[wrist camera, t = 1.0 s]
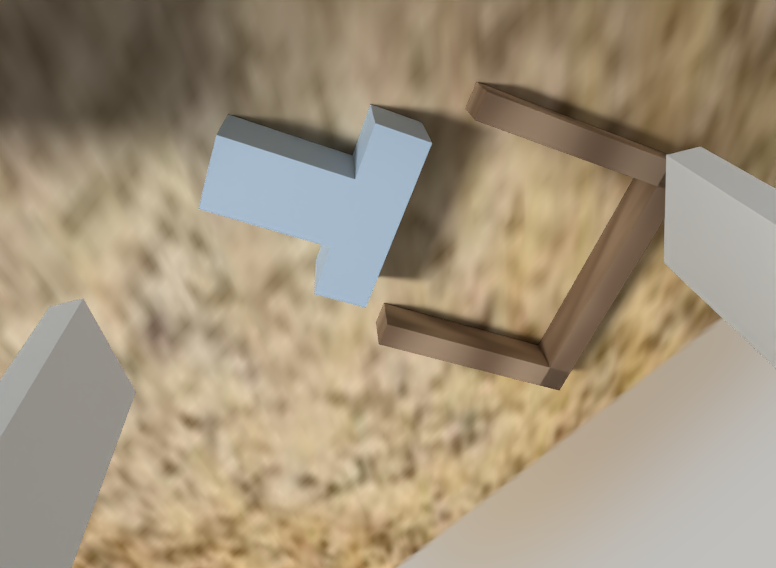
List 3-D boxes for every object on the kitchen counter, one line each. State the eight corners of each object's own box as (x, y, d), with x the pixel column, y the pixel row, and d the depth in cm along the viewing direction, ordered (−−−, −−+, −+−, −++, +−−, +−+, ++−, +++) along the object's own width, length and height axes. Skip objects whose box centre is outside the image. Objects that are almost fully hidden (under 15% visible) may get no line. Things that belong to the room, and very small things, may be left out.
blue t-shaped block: (200, 228, 36) (186, 259, 32) (241, 58, 32) (231, 73, 28) (362, 274, 38) (365, 307, 35) (421, 122, 34) (432, 143, 31)
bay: (376, 322, 40) (378, 344, 38) (476, 81, 33) (487, 91, 31) (547, 367, 43) (559, 390, 41) (672, 156, 36) (694, 170, 34)
